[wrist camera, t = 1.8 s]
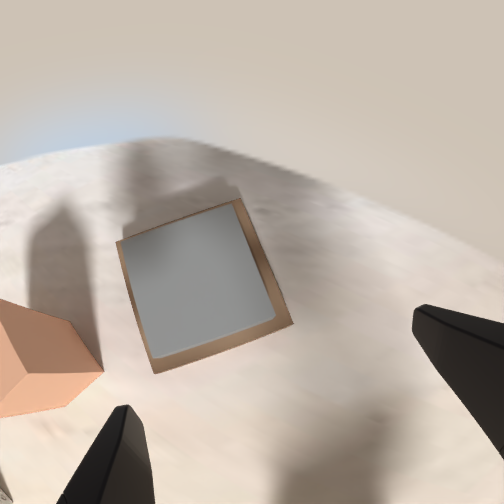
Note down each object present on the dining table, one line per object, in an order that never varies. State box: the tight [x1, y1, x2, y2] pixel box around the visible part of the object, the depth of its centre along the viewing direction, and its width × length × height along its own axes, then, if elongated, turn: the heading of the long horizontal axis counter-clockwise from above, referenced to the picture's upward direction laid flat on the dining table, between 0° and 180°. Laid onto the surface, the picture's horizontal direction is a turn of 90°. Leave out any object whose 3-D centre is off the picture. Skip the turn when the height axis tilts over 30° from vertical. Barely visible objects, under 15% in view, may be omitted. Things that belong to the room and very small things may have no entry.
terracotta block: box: [0, 299, 104, 418], centre depth 16 cm, size 5×5×10 cm
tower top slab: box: [121, 203, 276, 358], centre depth 21 cm, size 8×8×2 cm
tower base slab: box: [116, 198, 294, 374], centre depth 23 cm, size 10×10×2 cm
